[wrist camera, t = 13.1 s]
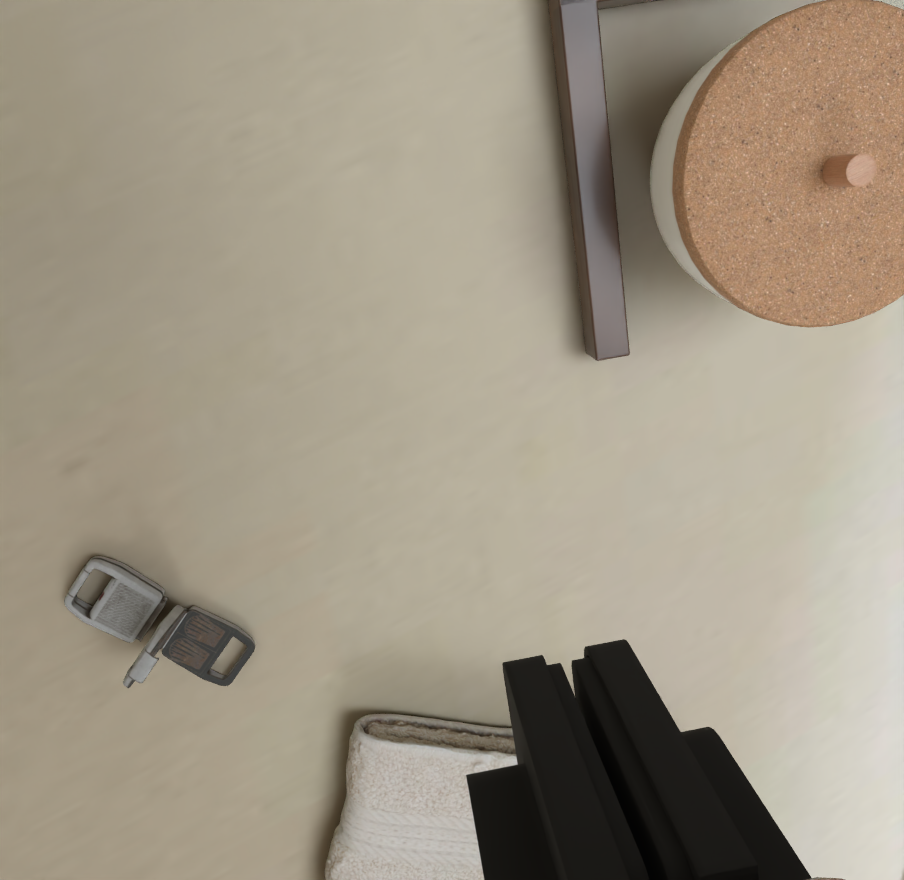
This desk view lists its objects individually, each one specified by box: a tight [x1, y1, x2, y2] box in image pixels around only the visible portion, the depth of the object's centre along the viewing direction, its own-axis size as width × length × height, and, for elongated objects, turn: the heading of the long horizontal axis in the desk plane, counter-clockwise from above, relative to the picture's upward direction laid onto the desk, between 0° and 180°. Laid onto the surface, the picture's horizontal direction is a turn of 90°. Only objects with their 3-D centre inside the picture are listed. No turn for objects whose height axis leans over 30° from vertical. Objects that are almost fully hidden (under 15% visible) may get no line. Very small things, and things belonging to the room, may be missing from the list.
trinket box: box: [650, 0, 904, 327], centre depth 32 cm, size 11×11×9 cm
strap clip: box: [64, 556, 255, 688], centre depth 37 cm, size 8×3×4 cm, turn 54°
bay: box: [548, 0, 657, 361], centre depth 35 cm, size 15×18×2 cm
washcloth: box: [325, 714, 518, 880], centre depth 43 cm, size 12×18×3 cm, turn 78°
